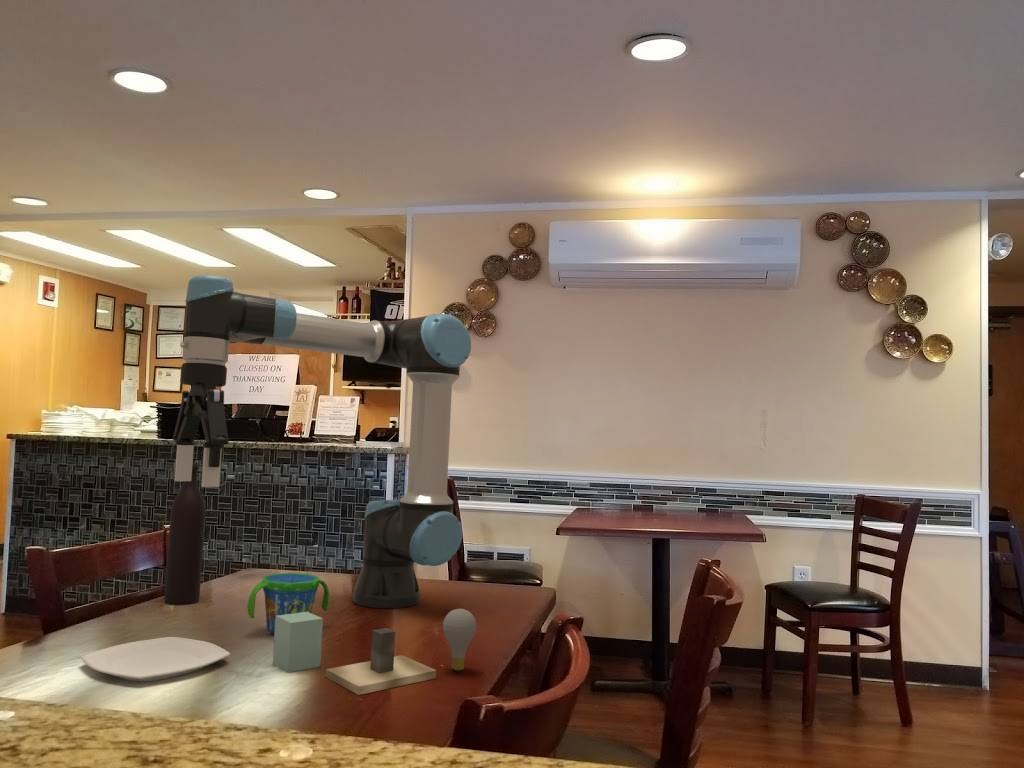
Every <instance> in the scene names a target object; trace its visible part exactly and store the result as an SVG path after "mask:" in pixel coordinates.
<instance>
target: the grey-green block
mask: <svg viewBox="0 0 1024 768" xmlns="http://www.w3.org/2000/svg"><path fill="white" fill-rule="evenodd" d="M323 625H324V618H322V617H321V616H318V615H316V614H314V613H312V614H311V613H309V612H301V613H293V614H285V615H278V616H276V618H275V633H274V634H273V635H274V636H273V649H272V650H273V651H272V652H273V653H272V654H273V655H272V665H274V666H276V667H277V668H279V669H281V670H283V671H284V672H286V673H287V674H288V673H293V672H299V671H300V672H301V671H304V670H305V671H306V670H310V669H316V668H319V667H321V659H322V658H321V657H322V645H323V642H322V641H323Z"/></svg>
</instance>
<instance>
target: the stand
mask: <svg viewBox="0 0 1024 768" xmlns="http://www.w3.org/2000/svg"><path fill="white" fill-rule="evenodd" d="M371 631H372V632H371V647H370V648H371V649H370V660H367V661H363V662H362V661H361V662H357V663H352V664H346V665H342V666H341V665H340V666H337V667H331V668H326V669H325V678H327V679H328V680H330V681H331V682H334V683H335V684H338V685H339V686H341V687H343V688H345V689H347V690H349V691H350V692H352V693H354V694H356V695H358V696H360V695H365V694H369V693H375V692H379V691H383V690H387V689H392V688H397V687H401V686H407V685H411V684H415V683H420V682H425V681H428V680H434V679H437V669H434V668H432V667H430V666H427V665H426V664H424V663H420V662H418V661H417V660H415V659H414V660H413V659H412V658H409V657H407V656H404V655H403V654H402V655H396V656H395V643H396V642H395V641H396V631H395V630H393V629H391V628H388V627H384V628H378V629H372V630H371Z"/></svg>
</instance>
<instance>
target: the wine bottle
mask: <svg viewBox="0 0 1024 768" xmlns="http://www.w3.org/2000/svg"><path fill="white" fill-rule="evenodd" d="M199 467H200V465H199V463H198V462H193V464H192V477H191V481H183V484H182V485H181V488H180V489H179V491H178V492H177V494H176V496H175V498H173V499H174V500H173V502H172V504H171V507H170V516H169V527H168V529H169V531H168V541H167V553H166V555H167V559H166V570H165V581H164V584H165V585H164V596H163V600H164V603H166V604H170V605H176V606H177V605H178V606H179V605H189V604H190V605H191V604H194V603H196V602H199V600H200V596H201V594H200V593H201V581H202V568H203V554H204V541H205V539H204V538H205V526H206V504H205V503H206V502H205V499H204V497H203V495H202V493H201V491H200V488H199V485H198V471H199V469H200V468H199Z"/></svg>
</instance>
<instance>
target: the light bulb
mask: <svg viewBox="0 0 1024 768" xmlns="http://www.w3.org/2000/svg"><path fill="white" fill-rule="evenodd" d="M442 630H443V631H442V632H443V634H444V637H445V638H446V640H447V642H448V644H449V647H450V651H451V654H450V657H451V666H450V667H451V669H452V670H453V671H455V672H457V673H458V672H461V670H464V669H465V657H466V650H467V648H468V646H469V644H470V643H471V641H472V639H473V638H474V636H475V635H476V630H477V621H476V618H475V616H474V615H473V614H472V613H471V611H469V610H466V609H465V608H456V609H452V610H451V611H449V612H447V614H446V616H445V617H444V619H443V623H442Z"/></svg>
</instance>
